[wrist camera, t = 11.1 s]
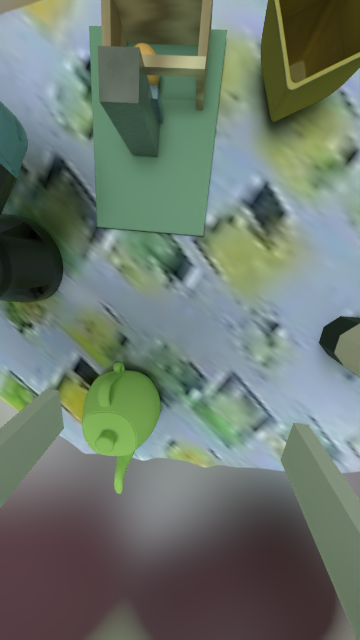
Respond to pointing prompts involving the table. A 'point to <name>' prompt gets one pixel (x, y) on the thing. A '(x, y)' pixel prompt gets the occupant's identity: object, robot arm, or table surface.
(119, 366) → the teapot
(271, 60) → the flower pot
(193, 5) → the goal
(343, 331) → the wine bottle
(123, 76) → the block
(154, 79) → the ball
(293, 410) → the table surface
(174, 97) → the board
